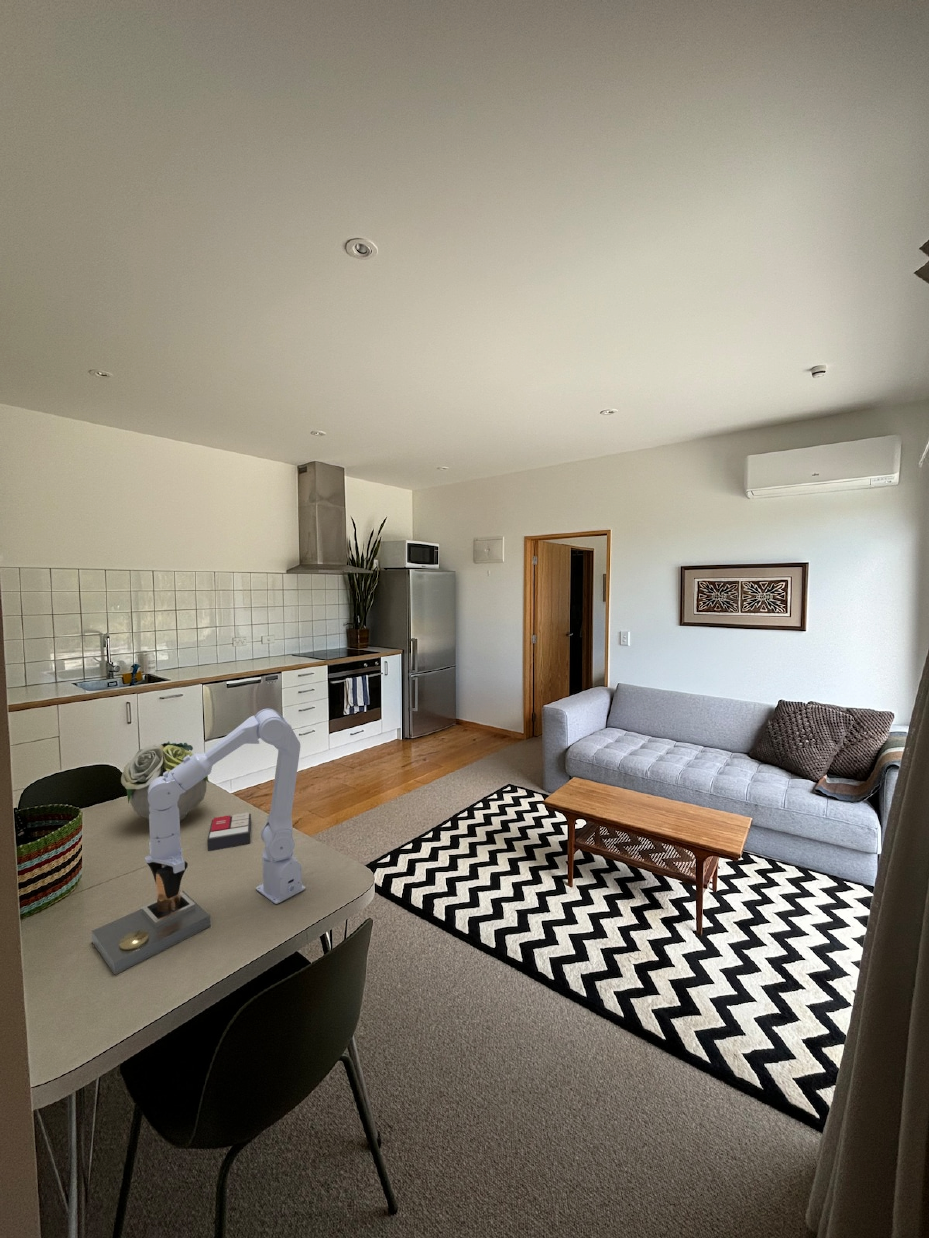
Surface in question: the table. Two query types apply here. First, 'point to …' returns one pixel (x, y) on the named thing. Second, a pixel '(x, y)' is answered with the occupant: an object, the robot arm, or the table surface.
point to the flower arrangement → (152, 766)
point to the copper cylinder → (162, 900)
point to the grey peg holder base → (148, 932)
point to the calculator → (229, 831)
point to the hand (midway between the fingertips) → (167, 891)
